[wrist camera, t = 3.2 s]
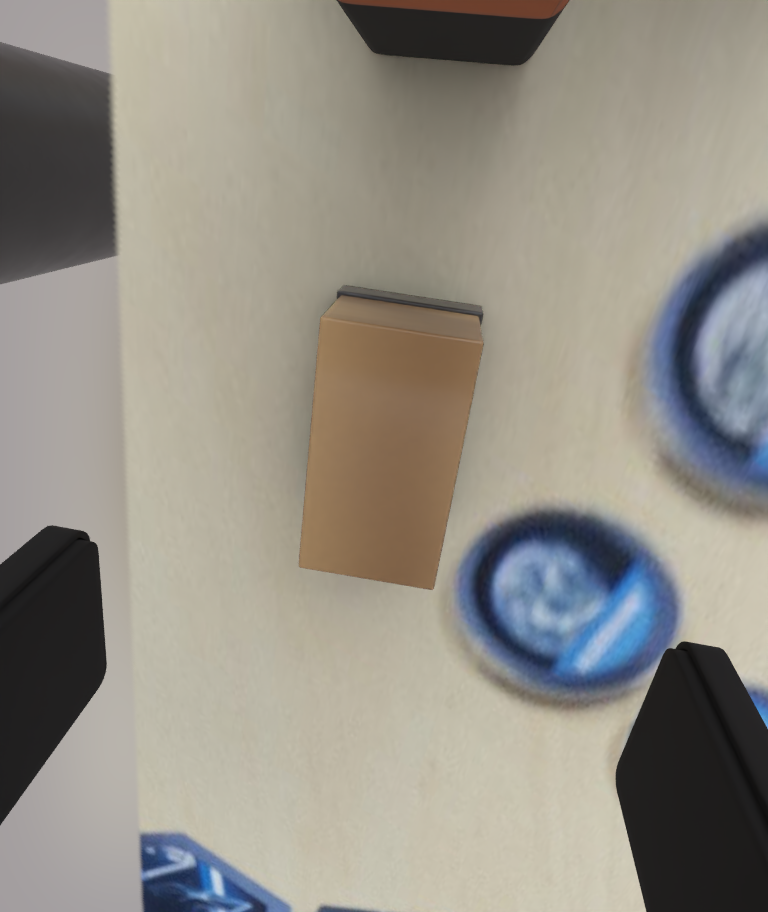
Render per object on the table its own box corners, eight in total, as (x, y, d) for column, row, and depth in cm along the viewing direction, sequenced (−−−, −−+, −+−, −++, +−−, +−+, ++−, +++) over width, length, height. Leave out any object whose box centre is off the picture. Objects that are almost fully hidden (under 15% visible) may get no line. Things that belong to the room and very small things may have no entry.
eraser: (320, 504, 22) (294, 570, 18) (342, 284, 19) (316, 311, 15) (439, 524, 22) (436, 594, 18) (482, 305, 18) (489, 338, 15)
